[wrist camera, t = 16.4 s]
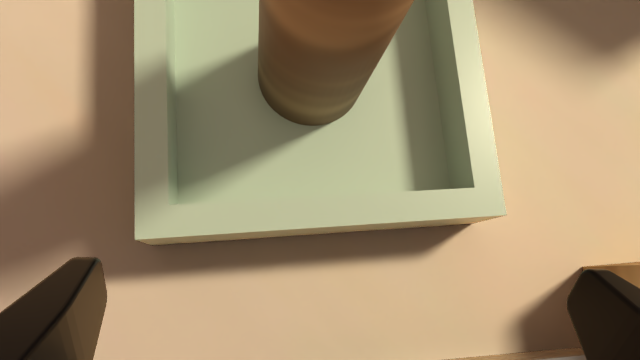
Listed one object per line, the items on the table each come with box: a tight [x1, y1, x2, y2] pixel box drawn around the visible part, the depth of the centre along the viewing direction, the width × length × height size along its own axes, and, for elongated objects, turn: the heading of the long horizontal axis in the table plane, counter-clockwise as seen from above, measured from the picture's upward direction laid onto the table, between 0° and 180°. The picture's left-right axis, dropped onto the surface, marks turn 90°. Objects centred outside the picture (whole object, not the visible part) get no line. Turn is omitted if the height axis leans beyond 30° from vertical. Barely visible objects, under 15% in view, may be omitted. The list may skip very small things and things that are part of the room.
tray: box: [134, 0, 507, 245], centre depth 17 cm, size 12×12×2 cm
